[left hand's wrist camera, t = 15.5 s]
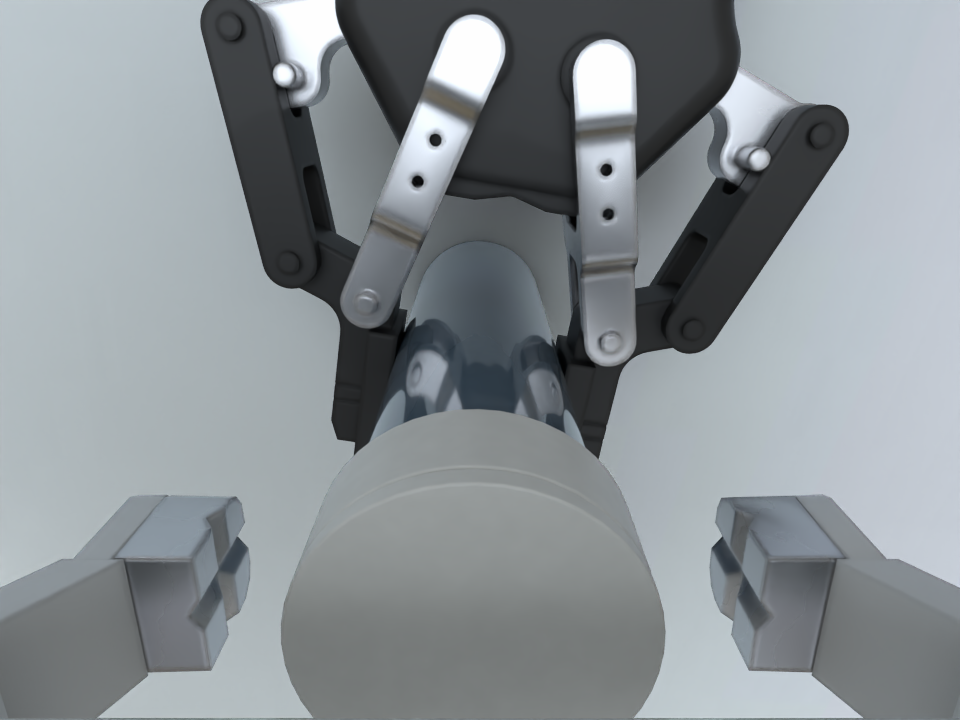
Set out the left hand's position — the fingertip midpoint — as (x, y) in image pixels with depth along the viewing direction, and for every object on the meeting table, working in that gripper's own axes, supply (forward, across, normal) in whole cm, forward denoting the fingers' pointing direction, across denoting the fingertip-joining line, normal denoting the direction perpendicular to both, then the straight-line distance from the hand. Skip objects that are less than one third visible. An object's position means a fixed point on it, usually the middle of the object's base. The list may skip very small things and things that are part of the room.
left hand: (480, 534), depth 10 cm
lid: (-2, 0, 0) cm, 2 cm away
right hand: (+7, 0, -3) cm, 8 cm away
